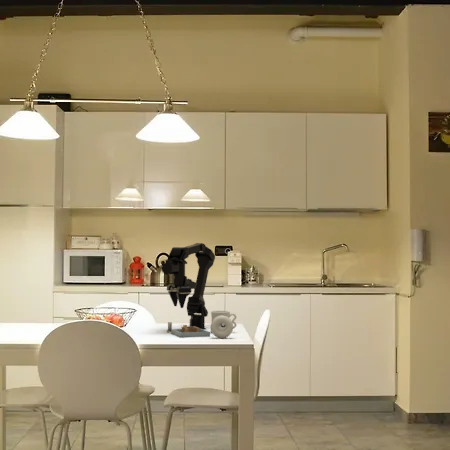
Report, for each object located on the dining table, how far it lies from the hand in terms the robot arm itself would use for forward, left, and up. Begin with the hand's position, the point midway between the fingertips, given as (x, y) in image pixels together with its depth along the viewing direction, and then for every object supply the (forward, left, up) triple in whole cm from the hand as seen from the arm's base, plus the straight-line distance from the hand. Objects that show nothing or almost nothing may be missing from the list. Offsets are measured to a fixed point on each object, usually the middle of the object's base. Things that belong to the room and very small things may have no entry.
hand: (178, 307), depth 314 cm
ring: (-2, +12, -11) cm, 16 cm away
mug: (-20, +7, -12) cm, 24 cm away
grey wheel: (-12, +26, -12) cm, 31 cm away
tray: (-2, +12, -12) cm, 17 cm away
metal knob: (+4, -1, -12) cm, 12 cm away
